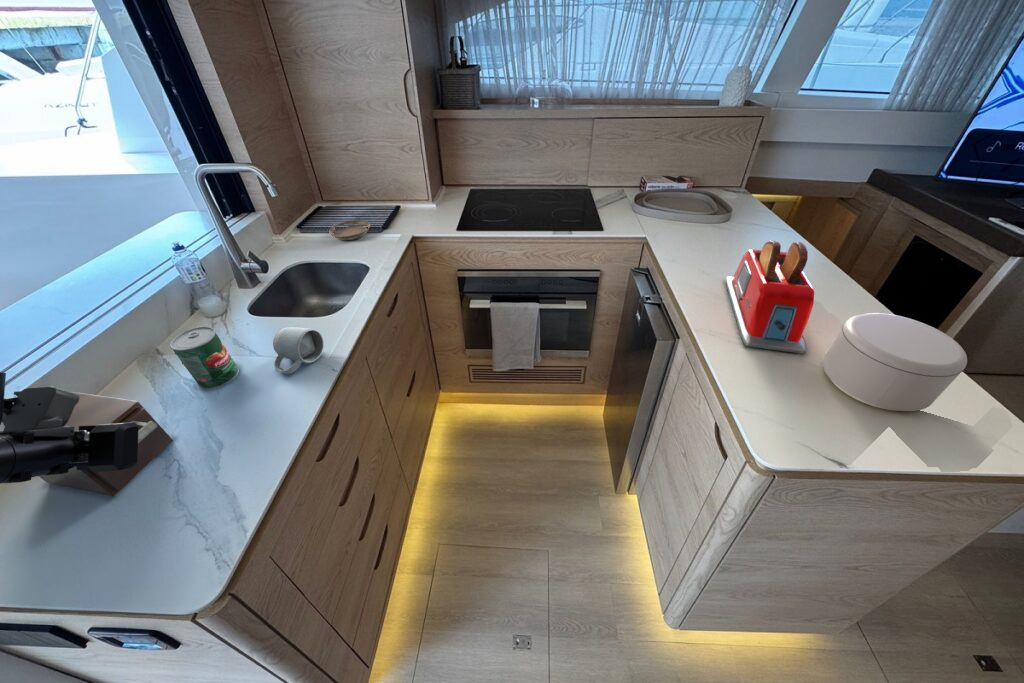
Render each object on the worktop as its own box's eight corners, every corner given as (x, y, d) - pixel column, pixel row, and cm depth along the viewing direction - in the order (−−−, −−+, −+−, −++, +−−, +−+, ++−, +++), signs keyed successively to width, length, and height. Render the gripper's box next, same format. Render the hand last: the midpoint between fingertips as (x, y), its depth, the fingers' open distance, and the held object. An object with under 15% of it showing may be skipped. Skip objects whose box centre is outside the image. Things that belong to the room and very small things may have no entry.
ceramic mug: (300, 343, 96) (287, 318, 91) (328, 348, 94) (317, 323, 89) (268, 373, 88) (252, 346, 83) (298, 379, 86) (284, 352, 81)
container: (798, 362, 85) (823, 318, 78) (865, 347, 88) (895, 303, 81) (878, 425, 71) (917, 379, 64) (954, 405, 74) (1000, 358, 67)
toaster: (806, 355, 87) (849, 281, 75) (743, 347, 90) (774, 274, 78) (773, 284, 111) (801, 219, 99) (724, 279, 114) (746, 215, 102)
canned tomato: (239, 380, 86) (214, 341, 79) (197, 394, 83) (167, 355, 76) (238, 360, 91) (214, 322, 85) (199, 372, 88) (171, 334, 82)
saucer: (333, 245, 140) (330, 238, 139) (329, 231, 151) (327, 224, 149) (374, 237, 145) (373, 230, 143) (368, 224, 156) (367, 217, 154)
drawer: (193, 443, 72) (165, 411, 66) (141, 496, 64) (105, 464, 58) (118, 431, 74) (85, 399, 69) (59, 480, 67) (17, 448, 61)
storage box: (173, 440, 74) (138, 401, 67) (113, 496, 65) (66, 458, 58) (114, 430, 76) (75, 392, 69) (49, 484, 67) (-4, 445, 60)
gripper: (76, 386, 47) (182, 385, 62) (-86, 396, 46) (62, 392, 62) (71, 482, 46) (181, 457, 61) (-95, 493, 45) (58, 465, 61)
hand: (120, 440), depth 61 cm, fingers closed
